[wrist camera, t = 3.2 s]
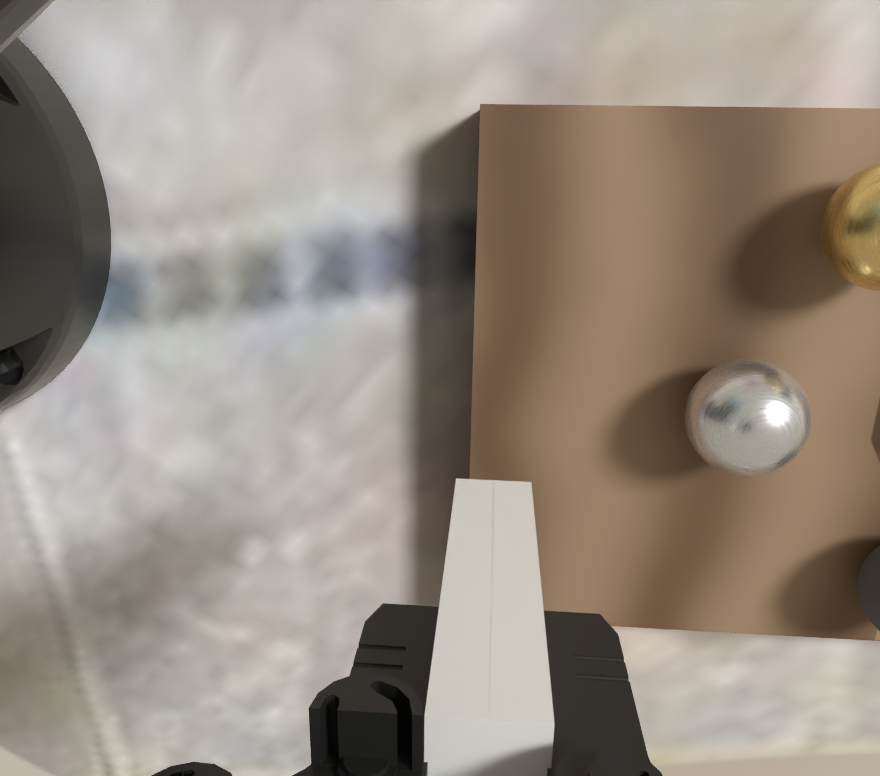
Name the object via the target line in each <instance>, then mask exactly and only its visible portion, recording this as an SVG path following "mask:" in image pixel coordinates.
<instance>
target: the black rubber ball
mask: <svg viewBox="0 0 880 776" xmlns="http://www.w3.org/2000/svg"><path fill="white" fill-rule="evenodd" d="M857 591H858V597H859V601H860V604H861V606H862V609H863V611H864V613H865V614H866V616H867V617H868V619H869V620H870V622H871V623H872V624H873V625H874V626H875V627H876V628H877V629H878V630H879V631H880V546H879V547H877V548H876V549H875V550H873V551H872V552H871V553H870V554H869V555H868V557H867V558H866V559H865V561H864V562H863V564H862V566H861V569H860V571H859V575H858V581H857Z"/></svg>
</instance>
